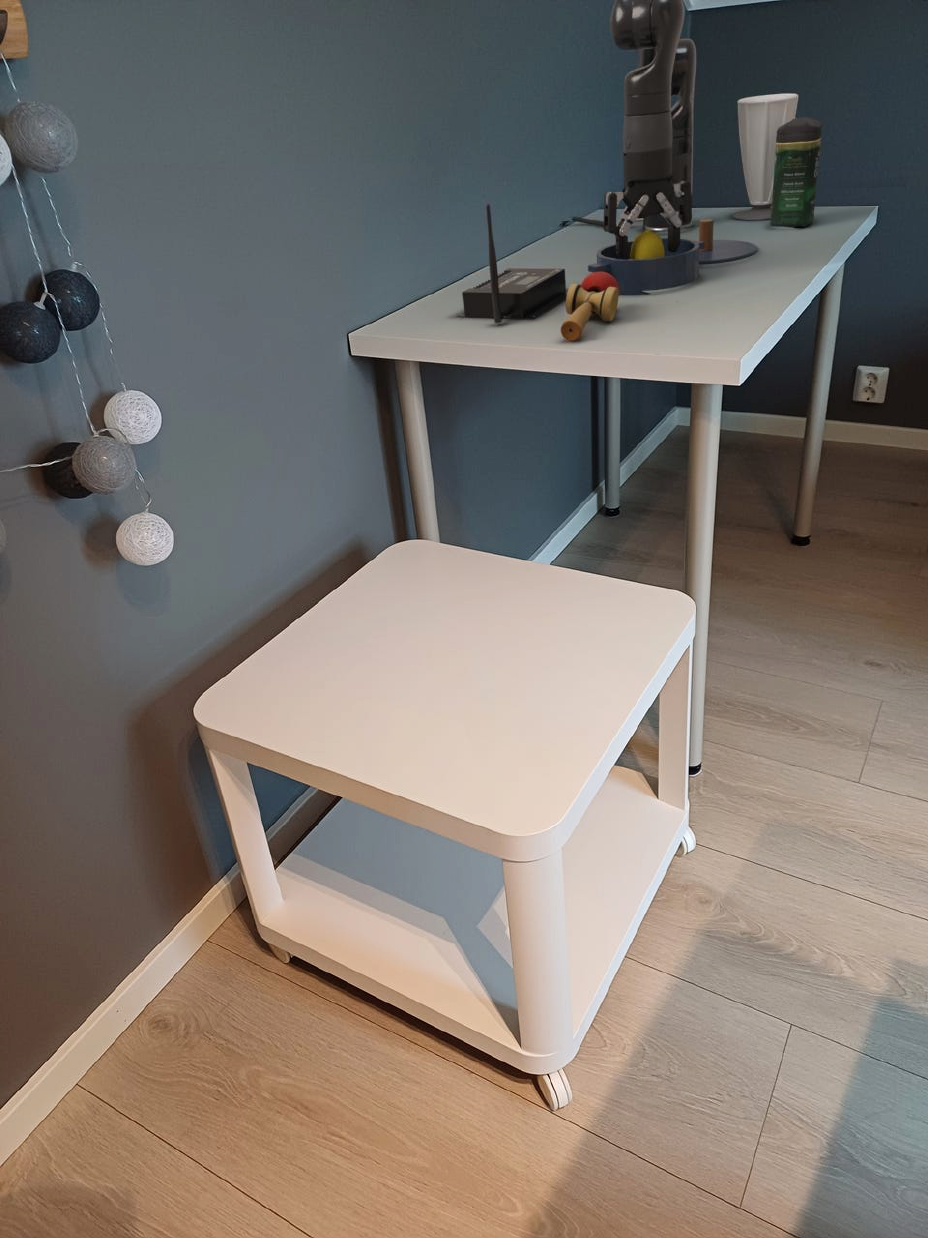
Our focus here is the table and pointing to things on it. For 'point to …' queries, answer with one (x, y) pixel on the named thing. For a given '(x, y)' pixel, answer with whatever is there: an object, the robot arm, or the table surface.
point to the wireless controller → (514, 290)
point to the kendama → (590, 302)
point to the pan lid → (721, 246)
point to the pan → (651, 267)
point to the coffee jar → (795, 172)
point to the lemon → (647, 246)
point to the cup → (761, 147)
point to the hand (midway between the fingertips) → (647, 255)
